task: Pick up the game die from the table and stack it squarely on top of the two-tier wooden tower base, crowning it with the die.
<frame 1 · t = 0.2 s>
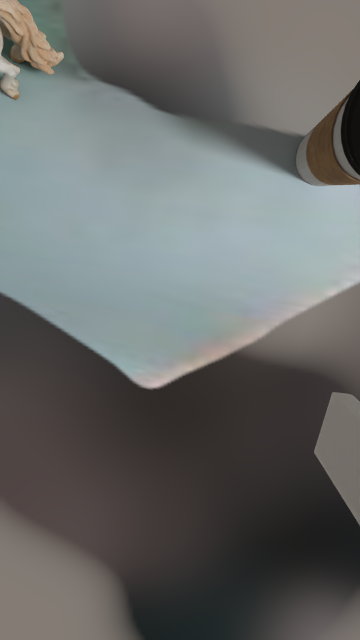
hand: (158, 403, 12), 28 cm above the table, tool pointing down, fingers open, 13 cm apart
coffee cup: (321, 157, 36), on the table
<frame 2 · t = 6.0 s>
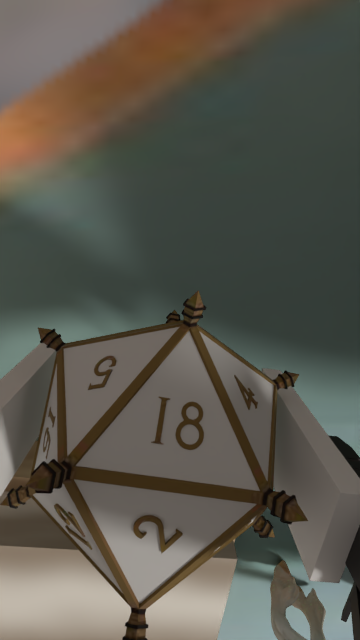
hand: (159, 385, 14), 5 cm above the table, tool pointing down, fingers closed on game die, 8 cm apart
unicorn figurine: (320, 595, 26), on the table
game die: (160, 374, 14), point 5 cm above the table, touching gripper
tower base: (110, 537, 23), on the table
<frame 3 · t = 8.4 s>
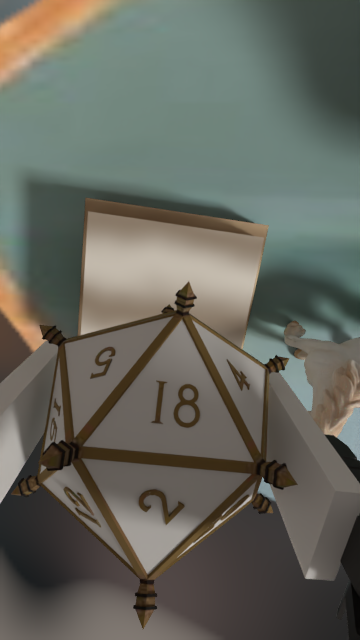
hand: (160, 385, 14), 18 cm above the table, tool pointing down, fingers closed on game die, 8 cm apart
unicorn figurine: (321, 361, 34), on the table
game die: (158, 367, 15), point 17 cm above the table, touching gripper
tower base: (167, 294, 31), on the table
when the fingers open (8 cm above the table, at t = 10.9 s): game die drops 1 cm, resting on tower base.
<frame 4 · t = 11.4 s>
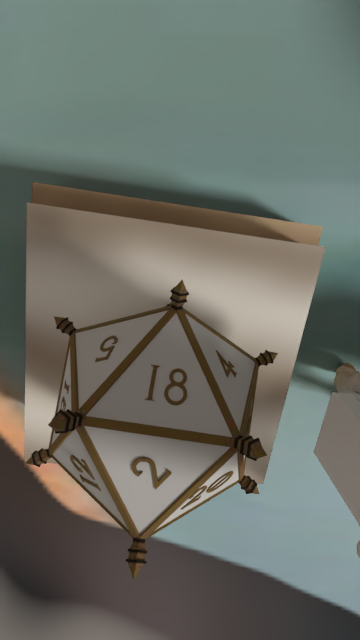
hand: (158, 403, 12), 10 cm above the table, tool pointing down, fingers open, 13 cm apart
game die: (161, 359, 16), point 6 cm above the table, touching tower base
tower base: (164, 325, 21), on the table
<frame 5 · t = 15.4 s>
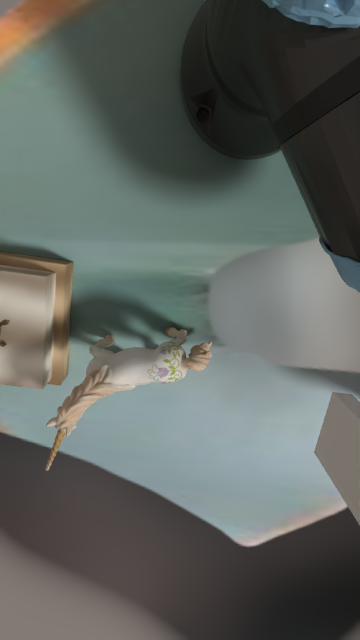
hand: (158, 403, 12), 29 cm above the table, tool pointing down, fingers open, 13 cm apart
unicorn figurine: (141, 365, 43), on the table
tower base: (9, 313, 40), on the table
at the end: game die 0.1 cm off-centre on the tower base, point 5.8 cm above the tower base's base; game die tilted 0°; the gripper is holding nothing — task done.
